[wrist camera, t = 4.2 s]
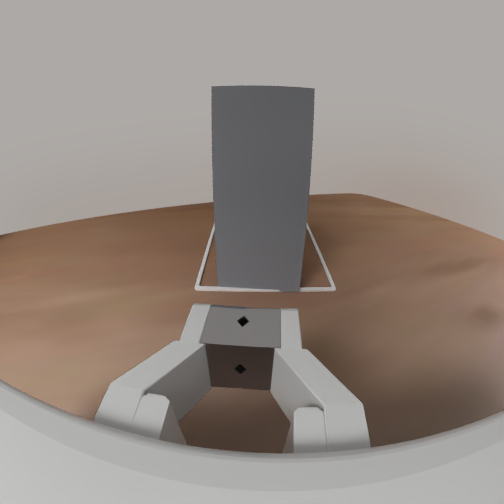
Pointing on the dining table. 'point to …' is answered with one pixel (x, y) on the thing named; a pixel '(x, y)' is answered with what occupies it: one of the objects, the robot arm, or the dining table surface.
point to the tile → (261, 184)
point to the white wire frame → (302, 289)
